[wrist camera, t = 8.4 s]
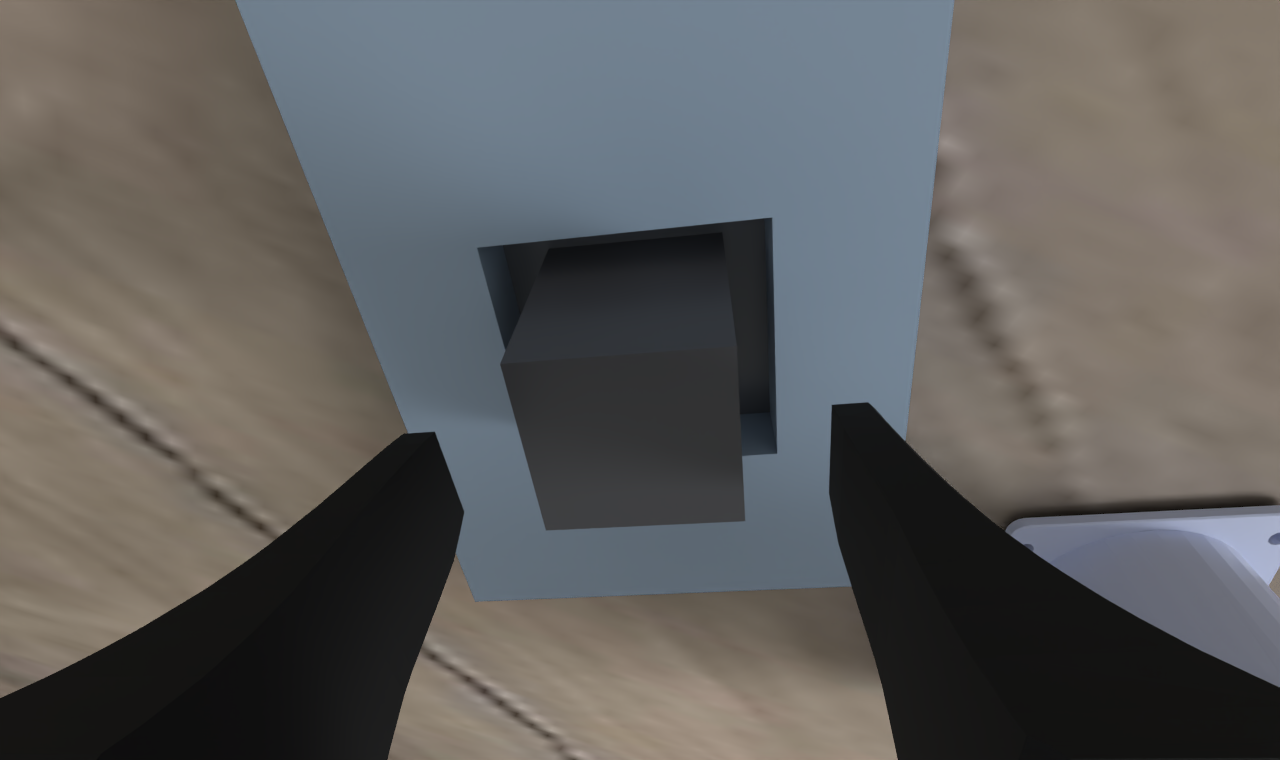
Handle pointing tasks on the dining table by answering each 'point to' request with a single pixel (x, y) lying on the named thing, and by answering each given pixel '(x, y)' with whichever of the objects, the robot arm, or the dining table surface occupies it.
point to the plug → (630, 385)
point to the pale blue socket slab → (625, 232)
